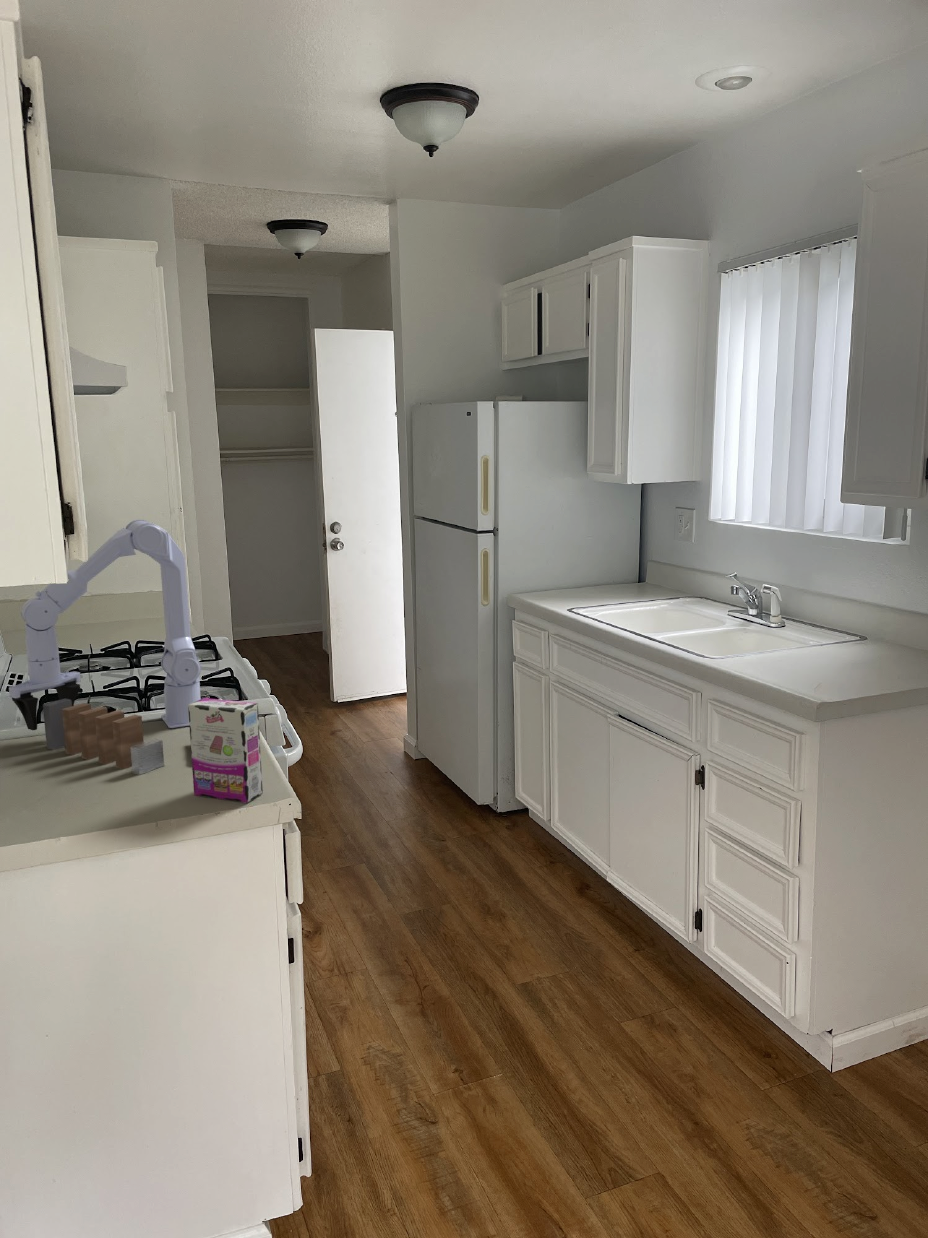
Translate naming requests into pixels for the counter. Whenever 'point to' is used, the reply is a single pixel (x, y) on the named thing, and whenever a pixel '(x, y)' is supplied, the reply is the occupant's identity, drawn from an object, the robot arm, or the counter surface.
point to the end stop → (147, 756)
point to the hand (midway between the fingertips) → (49, 724)
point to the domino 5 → (126, 739)
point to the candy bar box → (225, 749)
